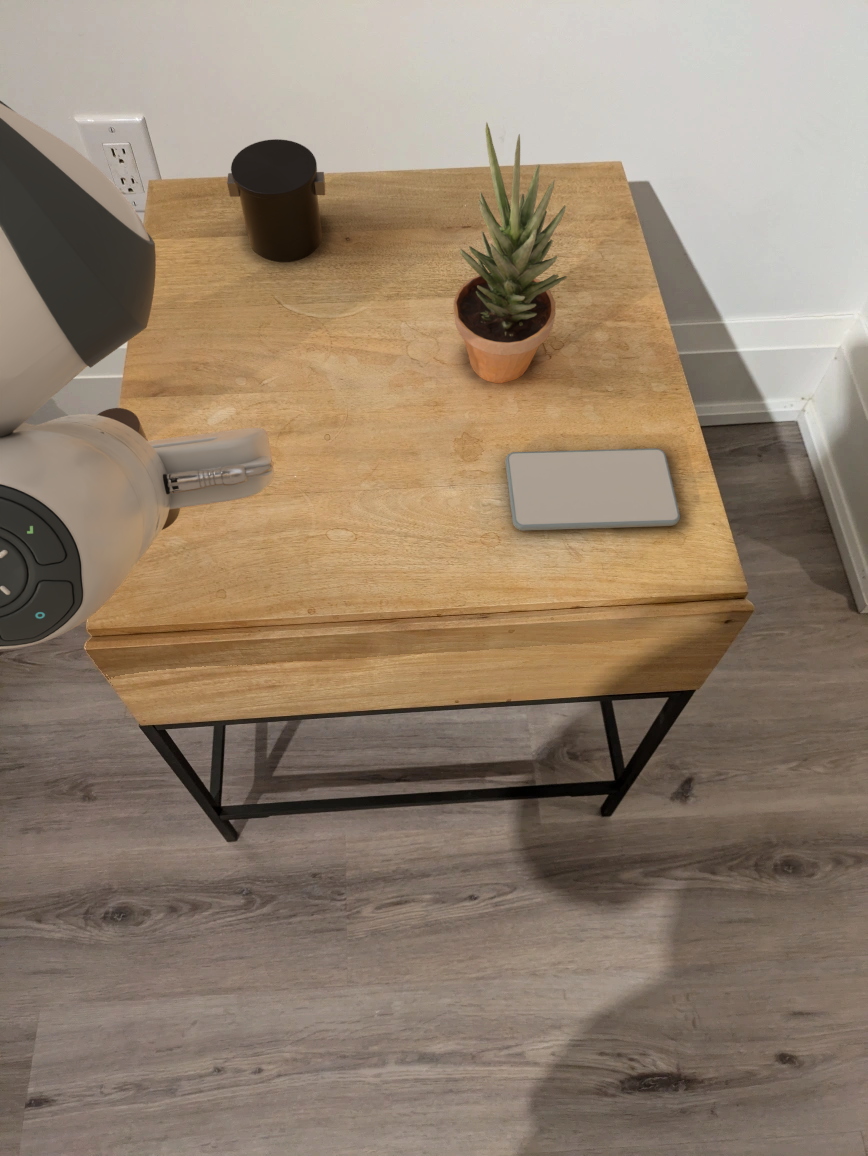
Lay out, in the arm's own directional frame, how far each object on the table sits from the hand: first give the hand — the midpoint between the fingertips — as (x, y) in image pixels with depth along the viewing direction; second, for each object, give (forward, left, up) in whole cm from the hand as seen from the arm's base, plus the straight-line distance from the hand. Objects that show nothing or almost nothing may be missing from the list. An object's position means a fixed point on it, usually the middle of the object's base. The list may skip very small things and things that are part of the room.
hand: (132, 461), depth 60 cm
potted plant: (+29, +22, -15) cm, 39 cm away
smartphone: (+36, +6, -14) cm, 40 cm away
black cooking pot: (+7, +41, -14) cm, 44 cm away
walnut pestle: (0, -1, -5) cm, 5 cm away
